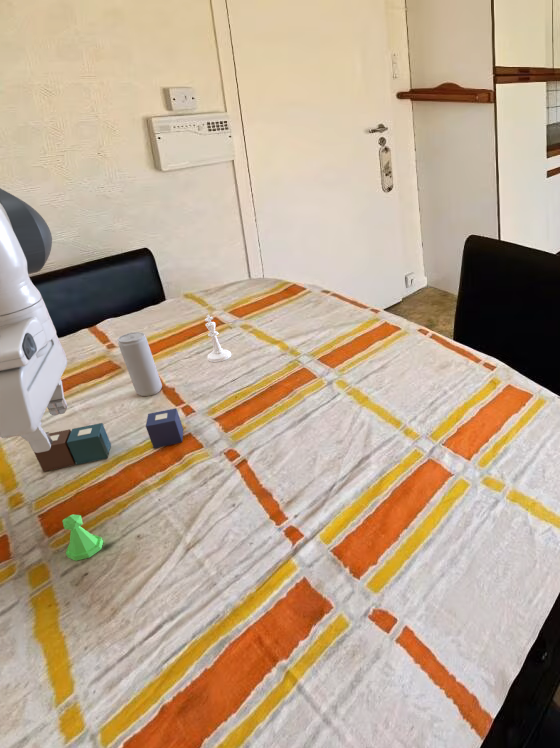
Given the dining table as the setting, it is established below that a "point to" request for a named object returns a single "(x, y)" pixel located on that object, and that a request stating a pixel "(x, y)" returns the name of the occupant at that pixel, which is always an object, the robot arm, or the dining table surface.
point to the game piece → (80, 539)
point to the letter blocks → (105, 441)
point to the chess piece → (215, 344)
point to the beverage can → (140, 363)
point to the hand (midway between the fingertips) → (52, 429)
